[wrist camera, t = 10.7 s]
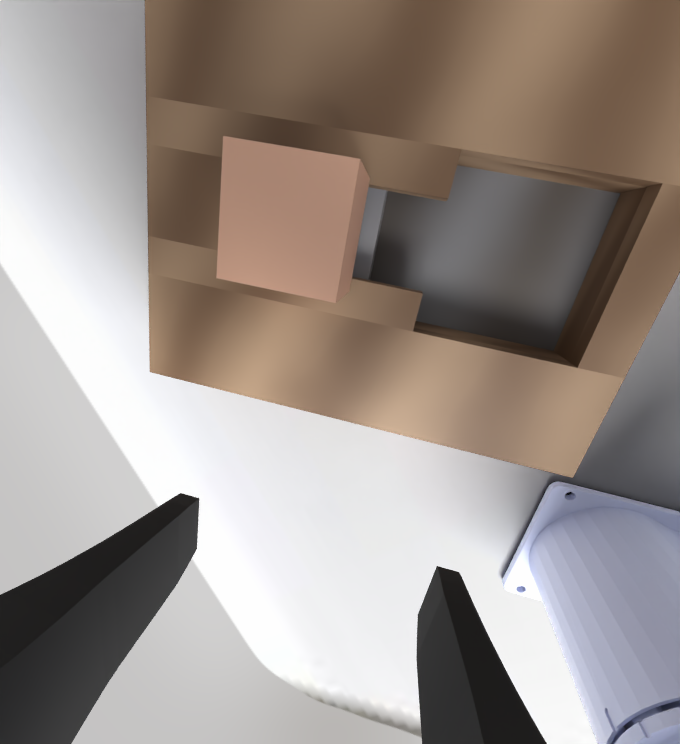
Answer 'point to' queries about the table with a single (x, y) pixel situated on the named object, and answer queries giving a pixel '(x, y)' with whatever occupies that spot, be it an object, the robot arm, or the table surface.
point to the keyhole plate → (428, 208)
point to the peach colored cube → (296, 219)
